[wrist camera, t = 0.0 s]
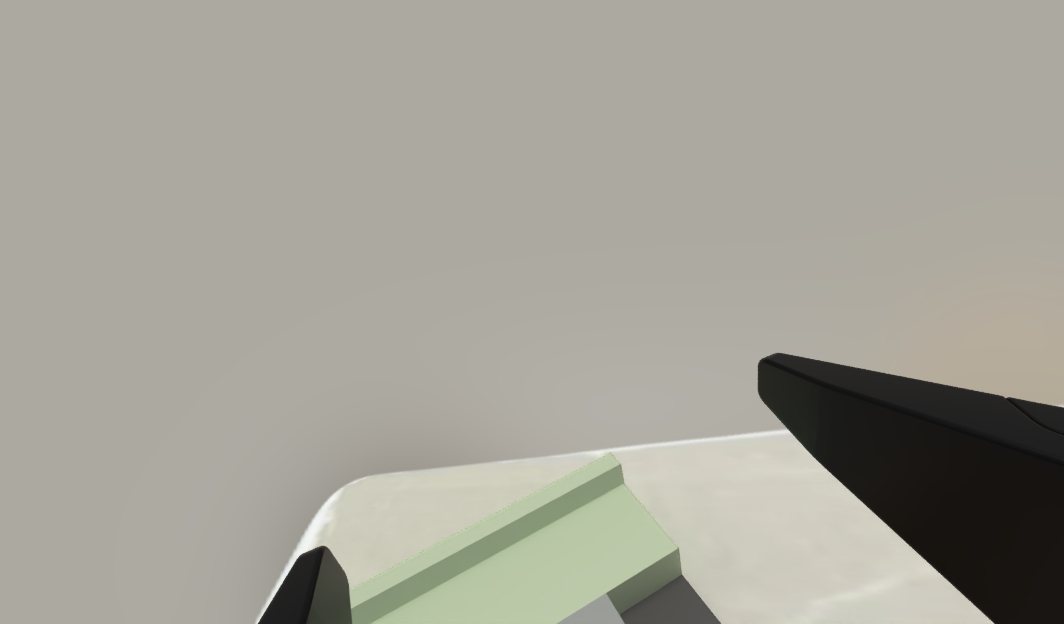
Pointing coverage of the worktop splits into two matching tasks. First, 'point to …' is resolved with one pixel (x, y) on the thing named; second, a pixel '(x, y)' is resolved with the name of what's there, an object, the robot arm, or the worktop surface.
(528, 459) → the worktop surface
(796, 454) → the worktop surface
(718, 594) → the worktop surface
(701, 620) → the board
